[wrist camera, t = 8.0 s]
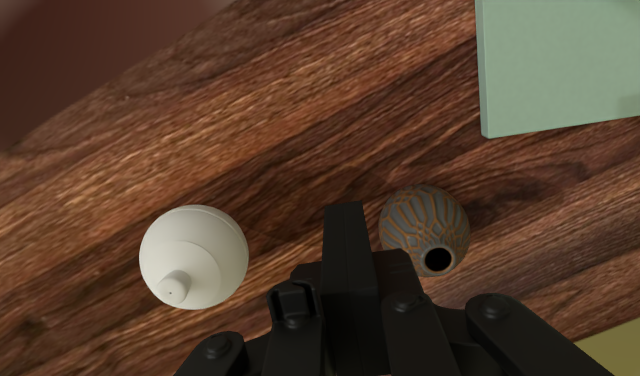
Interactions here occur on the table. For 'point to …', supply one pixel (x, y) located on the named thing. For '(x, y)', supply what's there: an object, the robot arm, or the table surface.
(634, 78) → the green push button box
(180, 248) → the spinning top
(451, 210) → the vase
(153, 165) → the table surface
